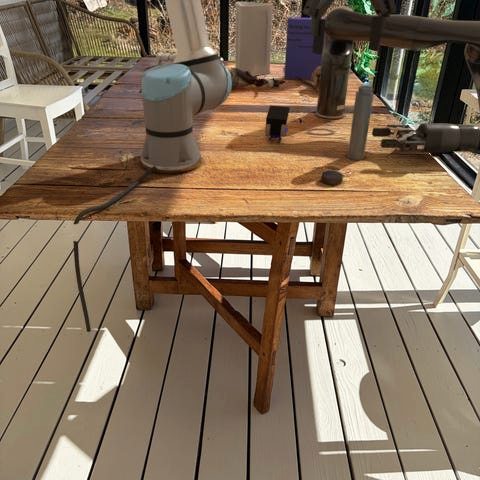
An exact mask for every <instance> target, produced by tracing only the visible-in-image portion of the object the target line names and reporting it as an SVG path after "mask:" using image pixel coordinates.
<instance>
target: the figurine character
mask: <svg viewBox="0 0 480 480" xmlns="http://www.w3.org/2000/svg"><path fill="white" fill-rule="evenodd" d="M289 113H290V107H289V106H282V105H281V106H280V105H269V109H268V111H267V115H266V118H265V129H264V137H269V138H268V142H269V143H272V139H275V140H276V139H278V143H281V142H282V139H283V138H285V137H286V134H287V133H288V132H289V129H288V126H287V125H288V119H289Z"/></svg>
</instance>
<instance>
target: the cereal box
mask: <svg viewBox="0 0 480 480" xmlns="http://www.w3.org/2000/svg"><path fill="white" fill-rule="evenodd" d="M321 19H325V17H322V18H321ZM311 23H312V18H311V17H291V16H290V17H287V23H286V24H287V25H286V40H285V41H286V42H285V56H284V57H285V58H284V59H285V60H284V74H283V78H284V79H283V80H297V79H296V77H299V78H301V79H303V80H305V81H306V80H307V81H308V80H309V81H311V75H312V73H313V72H314V71H315V70H316V68H317V67H319V66H321V59H322V55H318V54H315V53H313V52H312V51H313V39H314V36H311ZM324 42H325V32H324V39H323V48H324ZM322 52H323V50H322Z"/></svg>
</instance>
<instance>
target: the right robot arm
mask: <svg viewBox="0 0 480 480" xmlns="http://www.w3.org/2000/svg"><path fill="white" fill-rule="evenodd" d="M373 16H376V15H372V14H365V13H362V12H358V11H357V12H356V11H354V10H353V9H352V8H351V7H349V6H346V5H338V6H335V7H334V8H332V9H331V10H330V11H328V13H327V14H326V16H325V17H324V18H325V29H324V32H325V42H324V48H323V52H322V59H321V70H320V81H319V91H318V92H317V100H316V101H317V102H316V110H315V116H317V117H319V118H322V119H327V120H339V119H343V118H344V117H345V108H346V103H347V102H346V101H347V92H348V85H349V77H350V70H351V69H350V68H351V62H352V61H351V60H352V55H353V50H354V43H355V42H363V43H364V42H365V43H369V39H370V32H371V25H372V18H373ZM452 43H453V44H456V43H457V44H466V45H465V48H464V59H465V62H466V65H467V67H468V70H469V72H470V75H471V78H472V80H473V84H474V87H475V90H476V91H475V92H476V95H477V102H478V103H477V104H478V109H479V111H480V20H451V19H440V18H432V17H425V16H419V15H418V16H417V15H409V14H390V16H389V17H386V22H385V28H384V32H383V33H381V37H380V44H379V46H384V47H389V48H394V49H399V50H406V51H407V50H408V51H413V52H414V51H416V52H417V51H418V52H419V51H425V50H429V49H431V48H435V47H438V46H441V45H444V44H452ZM295 80H297V81H300V82H301V83H303V84H305V85H307V86H309V87H311V88H313V89H314V90H316V88H315V87H313V83H310V82H308V80H307V81H306V79H301V78H299V77H296V79H295ZM371 135H372V137H374V138H375V137H377V138H379V137H381V138H382V139H381V140H380V147H381V148H382V149H395V150H400V152H401V153H417V152H418V153H438V154H439V153H440V154H441V153H443V154H444V153H453V152H454V153H455V152H456V153H457V152H458V153H460V152H462V153H463V152H464V153H466V152H468V153H471V154H475V155H478V156H480V128H479V127H478V126H477V125H475V124H453V123H440V122H439V123H434V122H433V123H431V122H430V123H429V122H427V123H426V122H425V123H424V122H423V123H420V124H419V125H418V127H417V128H416V129H414V128H411V127H410V125H408V124H387V125H386V127H373V128H372V131H371ZM383 137H384V138H383Z"/></svg>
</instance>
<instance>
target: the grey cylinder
mask: <svg viewBox="0 0 480 480" xmlns="http://www.w3.org/2000/svg"><path fill="white" fill-rule="evenodd" d="M357 90H358V91H356V92H355V97H354V104H353V112H352V119H351V128H350V133H349V134H350V135H349V141H348V149H347V156H346V157H347V158H348V159H350V160H353V161H362V160H364V159H365V154H366V147H367V142H368V141H367V140H368V134H369V127H370V121H371V114H372V108H373V103H374V102H373V101H374V95H375V93H374V92H373V91H374V87H373V86H370V85H359V86H358V89H357Z"/></svg>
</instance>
